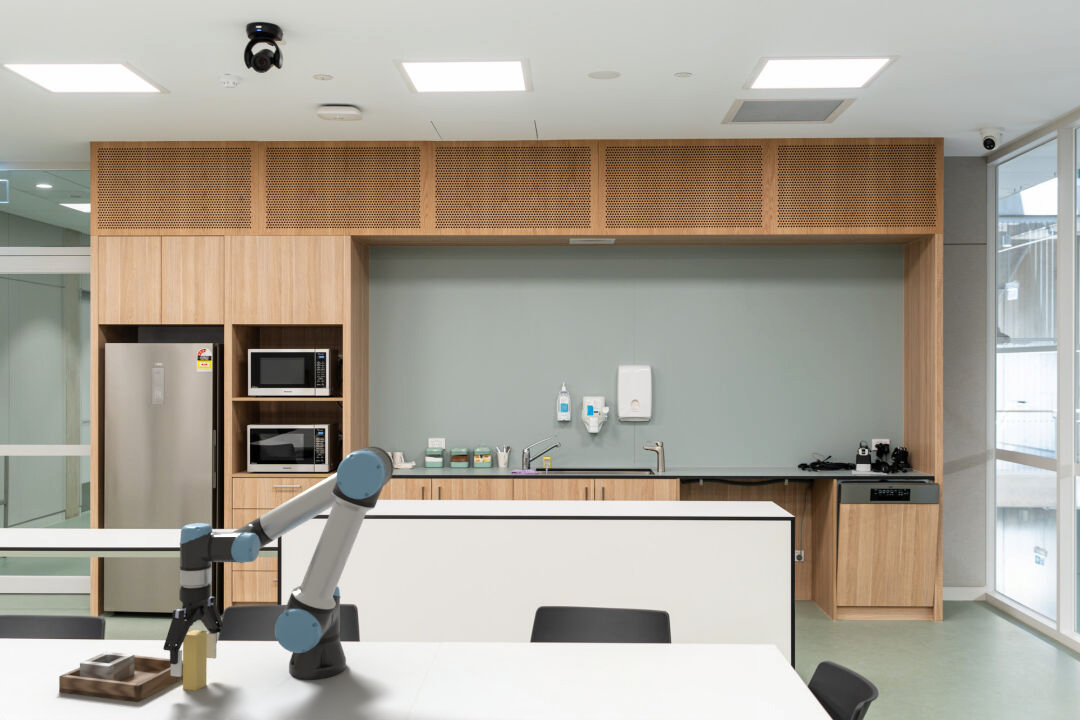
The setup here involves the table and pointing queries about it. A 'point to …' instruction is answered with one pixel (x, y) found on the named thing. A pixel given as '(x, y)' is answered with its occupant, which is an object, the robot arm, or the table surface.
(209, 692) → the table surface
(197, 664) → the connector
